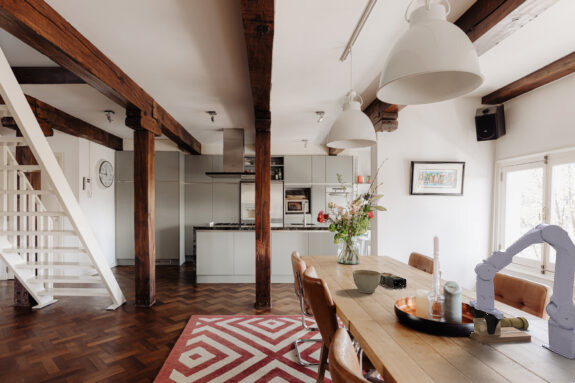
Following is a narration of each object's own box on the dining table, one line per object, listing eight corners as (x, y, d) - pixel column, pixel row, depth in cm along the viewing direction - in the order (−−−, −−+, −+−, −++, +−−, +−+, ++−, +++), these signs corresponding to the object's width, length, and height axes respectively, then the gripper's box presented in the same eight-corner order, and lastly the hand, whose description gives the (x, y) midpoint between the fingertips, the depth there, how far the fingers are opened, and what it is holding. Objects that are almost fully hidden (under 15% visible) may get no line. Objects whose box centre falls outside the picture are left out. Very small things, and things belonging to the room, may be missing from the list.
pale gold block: (500, 334, 114) (500, 321, 114) (480, 336, 113) (480, 322, 113) (492, 330, 118) (491, 317, 118) (472, 331, 117) (472, 318, 117)
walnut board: (531, 341, 113) (530, 335, 113) (482, 344, 111) (482, 338, 111) (512, 332, 121) (512, 327, 121) (466, 334, 119) (466, 329, 119)
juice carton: (375, 281, 202) (375, 271, 202) (388, 280, 205) (389, 271, 205) (393, 289, 183) (393, 279, 183) (407, 288, 185) (407, 278, 185)
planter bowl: (376, 296, 167) (376, 277, 167) (348, 292, 175) (348, 273, 176) (384, 290, 181) (383, 271, 181) (357, 286, 189) (357, 268, 190)
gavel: (470, 305, 144) (490, 305, 145) (471, 315, 143) (490, 315, 144) (505, 319, 123) (528, 318, 124) (506, 331, 122) (529, 330, 123)
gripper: (462, 290, 123) (463, 324, 122) (490, 301, 108) (491, 340, 108) (478, 289, 123) (479, 323, 123) (508, 300, 109) (509, 339, 108)
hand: (486, 331), depth 115 cm, fingers open, 4 cm apart
